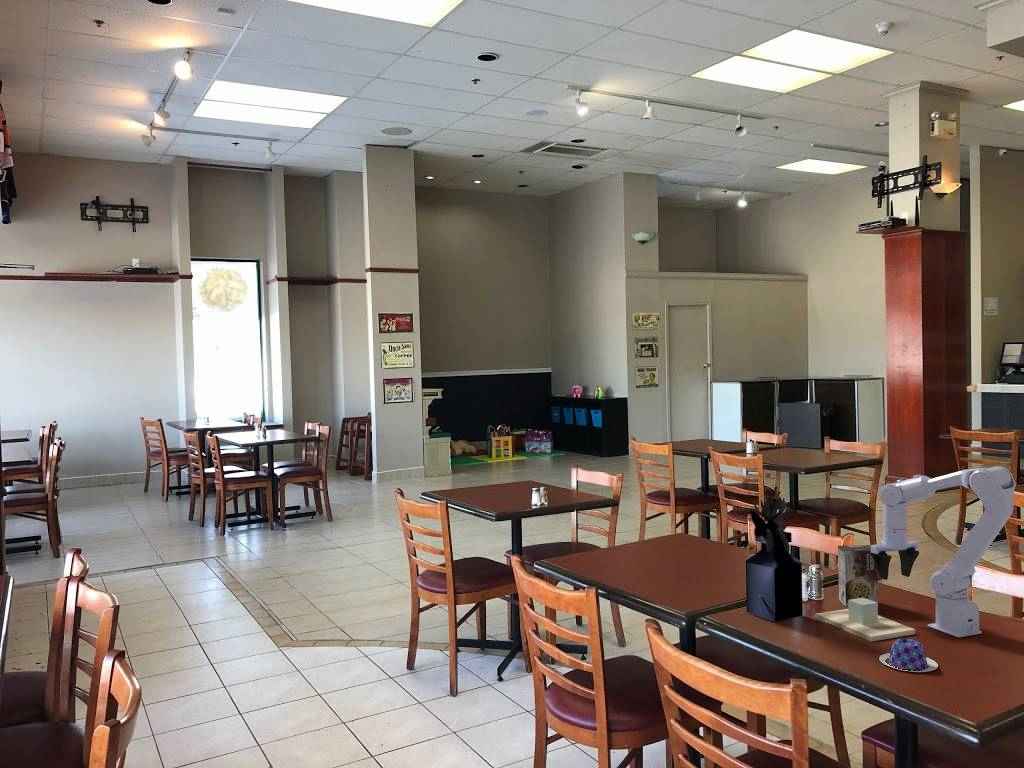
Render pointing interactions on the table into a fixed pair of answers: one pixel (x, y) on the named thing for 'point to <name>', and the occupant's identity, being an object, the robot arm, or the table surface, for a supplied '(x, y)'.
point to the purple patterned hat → (908, 656)
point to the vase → (773, 567)
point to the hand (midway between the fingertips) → (894, 577)
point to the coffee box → (857, 573)
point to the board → (866, 626)
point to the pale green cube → (863, 611)
